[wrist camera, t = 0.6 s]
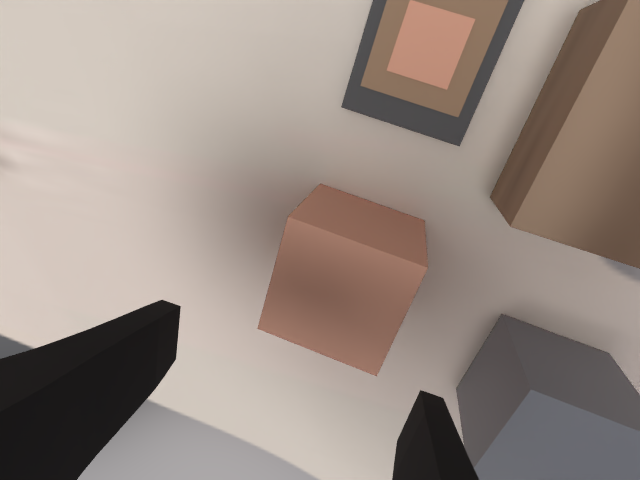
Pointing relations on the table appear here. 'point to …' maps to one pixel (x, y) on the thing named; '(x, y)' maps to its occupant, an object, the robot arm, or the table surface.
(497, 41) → the card
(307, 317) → the terracotta cube
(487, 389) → the charcoal cube
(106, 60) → the table surface
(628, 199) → the walnut block
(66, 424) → the robot arm
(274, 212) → the table surface
